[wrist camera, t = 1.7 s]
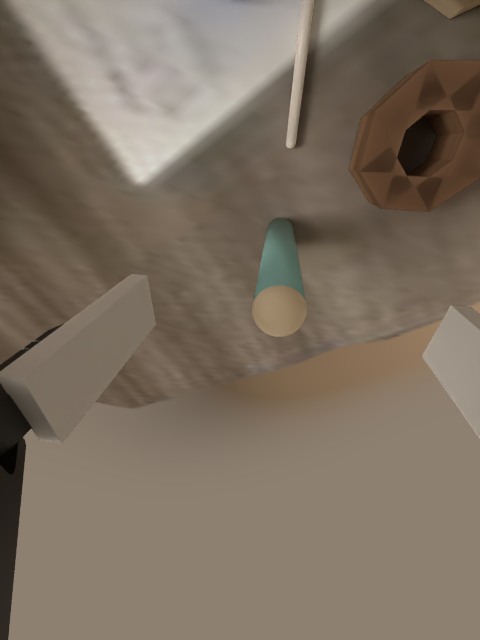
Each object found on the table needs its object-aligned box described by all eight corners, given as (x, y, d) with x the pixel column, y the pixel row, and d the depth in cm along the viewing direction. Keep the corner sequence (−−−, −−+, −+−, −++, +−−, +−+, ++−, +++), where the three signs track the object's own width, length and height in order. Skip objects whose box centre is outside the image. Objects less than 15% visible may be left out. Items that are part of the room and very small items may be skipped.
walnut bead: (341, 200, 22) (350, 207, 19) (370, 76, 18) (388, 59, 15) (438, 206, 21) (463, 213, 18) (493, 77, 17) (537, 60, 14)
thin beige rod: (295, 149, 20) (295, 148, 20) (285, 148, 21) (285, 148, 20) (341, -212, 12) (345, -233, 12) (325, -211, 12) (327, -232, 12)
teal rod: (265, 243, 25) (247, 344, 11) (268, 217, 24) (251, 295, 10) (291, 245, 25) (303, 350, 11) (295, 218, 23) (314, 301, 10)
